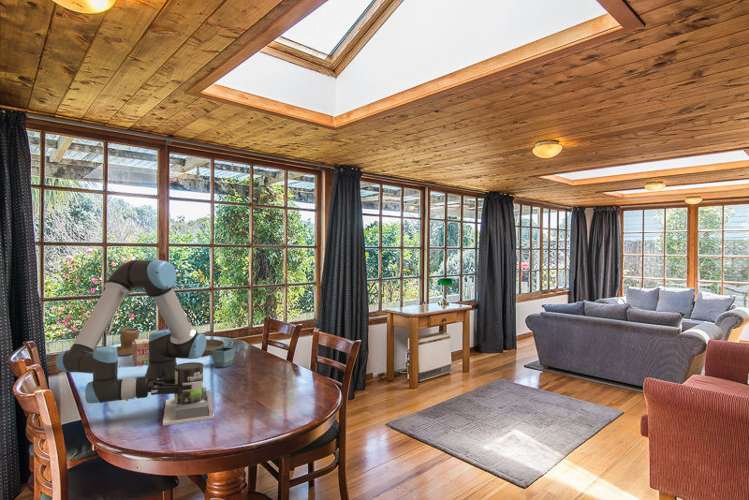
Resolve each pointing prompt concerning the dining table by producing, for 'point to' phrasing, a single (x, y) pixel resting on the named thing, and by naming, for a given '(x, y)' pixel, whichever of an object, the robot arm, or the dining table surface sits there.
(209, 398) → the metal rail
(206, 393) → the block
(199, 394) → the coffee can
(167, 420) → the mounting board
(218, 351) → the flower pot
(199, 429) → the dining table surface
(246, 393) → the dining table surface
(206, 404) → the block
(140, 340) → the tan printed box
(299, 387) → the dining table surface
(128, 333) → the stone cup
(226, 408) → the dining table surface
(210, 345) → the plant saucer
